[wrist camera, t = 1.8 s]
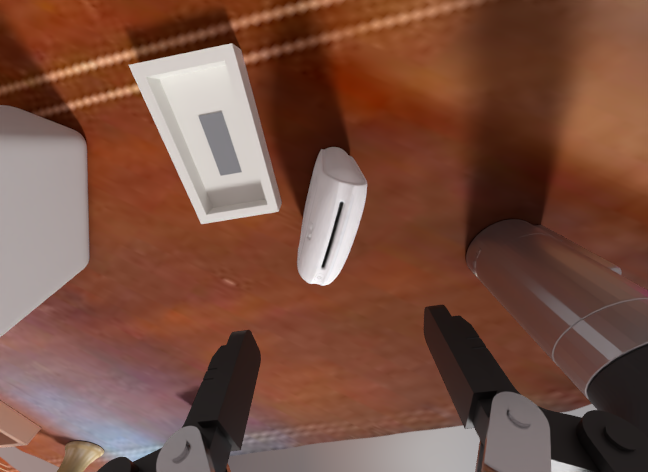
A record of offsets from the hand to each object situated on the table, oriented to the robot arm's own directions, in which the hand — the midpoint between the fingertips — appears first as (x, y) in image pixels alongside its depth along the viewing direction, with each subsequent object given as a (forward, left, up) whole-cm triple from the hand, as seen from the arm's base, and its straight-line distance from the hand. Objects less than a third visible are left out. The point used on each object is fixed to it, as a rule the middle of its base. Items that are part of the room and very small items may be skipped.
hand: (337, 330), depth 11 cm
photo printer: (0, 0, -20) cm, 20 cm away
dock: (+10, -7, -20) cm, 23 cm away
